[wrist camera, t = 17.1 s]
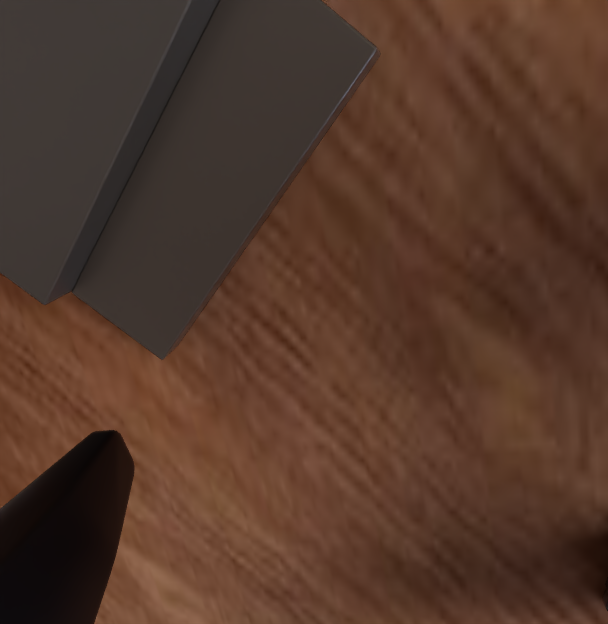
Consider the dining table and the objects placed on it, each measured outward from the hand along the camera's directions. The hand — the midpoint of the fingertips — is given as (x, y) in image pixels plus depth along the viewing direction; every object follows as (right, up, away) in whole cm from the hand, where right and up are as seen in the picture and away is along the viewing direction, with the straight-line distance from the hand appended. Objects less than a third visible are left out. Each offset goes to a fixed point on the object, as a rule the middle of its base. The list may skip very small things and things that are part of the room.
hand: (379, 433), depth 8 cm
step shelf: (-9, +10, +11) cm, 17 cm away
